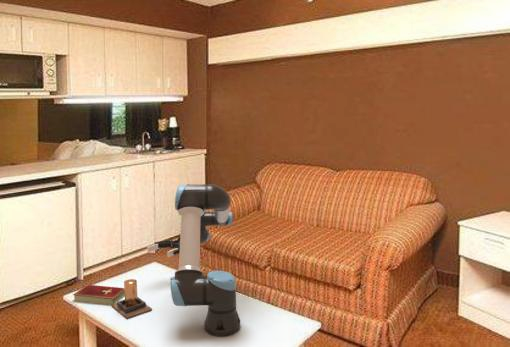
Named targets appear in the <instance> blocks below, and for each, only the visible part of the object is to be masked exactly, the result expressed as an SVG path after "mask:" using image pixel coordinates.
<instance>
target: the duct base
mask: <svg viewBox="0 0 510 347" xmlns="http://www.w3.org/2000/svg"><path fill="white" fill-rule="evenodd" d="M137 298H138V304H137V305H134V306H131V307H128V308H127V307H126V306H125V299H123V300H119V301H118V302H116V303H115V304H112V305H111V308H113V309H114V310H115V311H117V313H119V314H120V315H121V316H123V318H124V319H126V320H129V319H132V318H135V317H138V316H140V315H144V314H146V313H149V312H152V311H153V308H152V307H150V306H149V305H148V304H147V303H146V301H144V300H142V298H140V297H139V296H137Z"/></svg>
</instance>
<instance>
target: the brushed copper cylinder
mask: <svg viewBox="0 0 510 347" xmlns="http://www.w3.org/2000/svg"><path fill="white" fill-rule="evenodd" d="M123 285H124V286H123V288H124V291H125V296H124V300H125V306H126V307H127V308H128V307H131V306H134V305H137V304H138V298H139V297H138V283H137V279H134V278H130V279H126V280H125V281H123ZM137 297H138V298H137Z"/></svg>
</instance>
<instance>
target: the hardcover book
mask: <svg viewBox="0 0 510 347" xmlns="http://www.w3.org/2000/svg"><path fill="white" fill-rule="evenodd" d="M72 296H74V297H73V298H74V299H73V300H74V302H81V303H90V304H100V305H109V306H110V305H111V306H112V304H115V303H117V302H119V301H121V299H122V298H123V297H125V291H124V287H117V286H106V285H96V284H93V285H92V284H86V285H85V286H83V287H82V288H80V289H79V290H78V291H76V292H74V293H73V294H72Z"/></svg>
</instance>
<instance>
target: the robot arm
mask: <svg viewBox="0 0 510 347" xmlns="http://www.w3.org/2000/svg"><path fill="white" fill-rule="evenodd" d="M231 204H232V198H231V196H230V194H229V192H227V190H225V188H223V187H221V186H220V185H216V184H190V183H187V184H181V185H179V186H178V187H177V189H176V192H175V196H174V209H175V211H177V213H178V214H177V215H179V216H180V217H181V218H180V234H179V235H180V236H179V237H178V238H177V239H172V238H170V239H168V240H161V241H154V243H153V244H152V245H149V246H147V248H146V250H147V253H150V252H154V251H157V250H158V249H164V248H165V249H166V248H170V250H169V251H168V250H167V251H166V256H167V258H171V257H173V256H175V255H178V256H179V260H178V269H177V270H175V271H174V276H172V277H170V292H171V294H170V295H171V299H172V303H173V304H174V306H175V307H176V306H177V307H185V308H186V307H188V306H189V307H193V306H197V307H198V306H201V307H202V306H207V308H208V309H207V314H206V317H205V320H204V321H203V322H204V323H203V324H204V325H203V328H204V331H205V332H206V333H207V334H208V335H210V336H214V337H228V336H232V335H234V334H236V333H238V332H239V331H240V330H241V319H240V315H239V313H238V311H237V291H236V290H237V284H236V283H237V281H236V280H237V279H236V277H235V276H234V275H233V274H232V273H231V272H228V271H225V270H213V271H209V272H208V273H207V275H206V276H205V275H204V271H202V270H201V269H200V261H201V260H200V259H201V258H200V256H201V254H200V253H201V245H202V244H204V243H206V242H208V241H209V240H210V238H211V233H210V231H209V229H208V228H207V227H211V226H212V227H213V226H215V227H217V226H219V227H221V226H222V227H223V226H225V227H227V226H232V225H233V220H234V219H233V212H232V211H230V206H231ZM208 210H210V211H208ZM211 210H213V211H211Z"/></svg>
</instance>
